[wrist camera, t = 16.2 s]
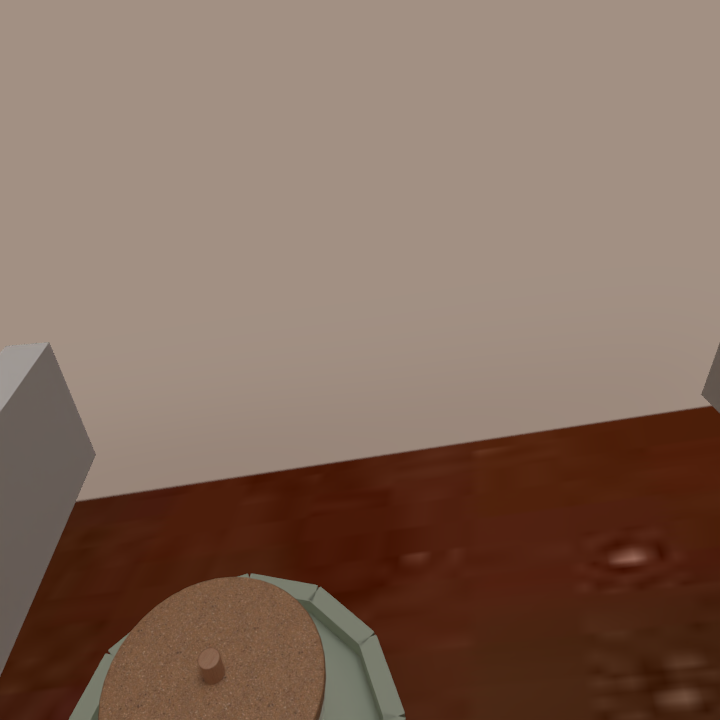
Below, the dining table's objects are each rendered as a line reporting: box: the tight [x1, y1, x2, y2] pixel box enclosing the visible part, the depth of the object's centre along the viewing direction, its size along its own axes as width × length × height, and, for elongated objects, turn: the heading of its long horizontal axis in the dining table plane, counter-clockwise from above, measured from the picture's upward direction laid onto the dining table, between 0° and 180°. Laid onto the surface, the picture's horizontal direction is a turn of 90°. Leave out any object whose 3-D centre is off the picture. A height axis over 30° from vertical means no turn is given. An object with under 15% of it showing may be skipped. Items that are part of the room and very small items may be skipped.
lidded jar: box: [98, 577, 326, 720], centre depth 29 cm, size 11×11×9 cm
